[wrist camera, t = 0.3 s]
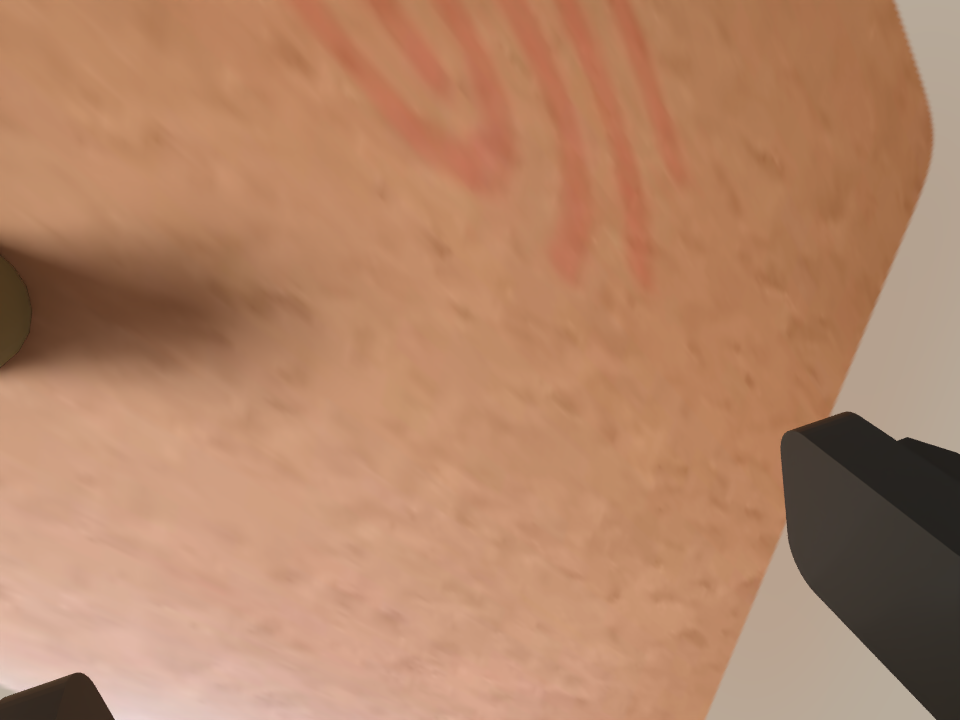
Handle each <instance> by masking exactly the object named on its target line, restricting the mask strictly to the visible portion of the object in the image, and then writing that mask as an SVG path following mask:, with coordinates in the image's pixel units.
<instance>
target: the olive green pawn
mask: <svg viewBox="0 0 960 720" xmlns="http://www.w3.org/2000/svg"><path fill="white" fill-rule="evenodd" d="M31 314H32V309H31V304H30V300H29V296H28V292H27V288H26V286H25V284H24V283H23V281H22V280H21V278H20V276H19V275H18V273H17V272H16V270H15V268H14V267H13V266H12V265H11V264H10V263H9V262H8V261H7V260H5V259H4V258H3V257H2V256H1V255H0V367H1V366H2V365H4V364H5V363H6V362H7V361H8V360H9V359H11V358H12V357H13V356H14V355H15V354H16V353H18V352H19V350H20V348H21V346H22V344H23V343H24V341H25V339H26V337H27V335H28V334H29V330H30V322H31Z"/></svg>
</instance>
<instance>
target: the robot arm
mask: <svg viewBox="0 0 960 720" xmlns="http://www.w3.org/2000/svg"><path fill="white" fill-rule="evenodd" d="M781 461H782V473H783V485H784V497H785V508H786V520H787V532H788V540H789V545H790V549H791V552H792V555H793V558H794V560H795V563H796V565H797V567H798V569H799V571H800V573H801V575H802V576H803V578H804V580H805V581H806V583H807V584H808V585H809V587H810V588H811V589H812V590H813V591H814V592H815V594H816V595H817V596H818V597H819V598H821V600H822V601H823V602H824V603H825V604H826V605H827V606H828V607H829V608H830V609H831V610H832V611H833V612H834V613H835V614H836V615H837V616H838V618H840V619H841V621H842V622H843V623H844V624H845V625H846V626H847V627H848V628H849V629H850V630H851V631H852V632H853V633H854V634H855V635H856V636H857V637H858V638H859V639H860V640H861V642H863V644H864V645H865V646H866V647H867V648H868V649H869V650H870V651H871V652H872V653H873V654H874V655H875V656H876V657H877V658H878V659H879V660H880V661H881V662H882V663H883V664H884V665H885V666H886V668H888V670H889V671H890V672H891V673H892V674H893V675H894V676H895V677H896V678H897V679H898V680H899V681H900V682H901V683H902V684H903V685H904V686H905V687H906V688H907V689H908V690H909V692H910V693H911V694H912V695H913V696H914V697H915V698H916V699H917V700H918V701H919V702H920V703H921V704H922V705H923V706H924V707H925V708H926V709H927V710H928V711H929V712H930V713H931V714H932V716H933V717H934V718H935V719H936V720H960V454H958V453H956V452H953V451H950V450H946V449H943V448H940V447H937V446H934V445H930V444H927V443H924V442H921V441H918V440H914V439H911V438H908V437H907V438H904V439H901V440H899V441H896V440H894V439H893V438H892V437H890V436H889V435H887V434H886V433H884V432H883V431H881V430H880V429H878V428H877V427H875V426H874V425H872V424H871V423H869V422H868V421H866V420H865V419H863V418H862V417H860V416H859V415H857V414H855V413H852V412H843V413H840V414H837V415H834V416H831V417H828V418H825V419H822V420H819V421H816V422H814V423H811V424H808V425H805V426H802V427H799V428H796V429H793V430H790V431H787V432H786V433H785V434H784V435H783V437H782V440H781ZM0 720H115V719H114V718H113V716H112V714H111V712H110V711H109V709H108V707H107V705H106V704H105V702H104V700H103V699H102V697H101V695H100V693H99V692H98V690H97V688H96V687H95V685H94V683H93V682H92V681H91V680H90V678H89V677H87V676H86V675H85V674H83V673H74V674H71V675H68V676H65V677H62V678H59V679H56V680H53V681H51V682H48V683H45V684H42V685H39V686H36V687H33V688H30V689H27V690H24V691H21V692H18V693H15V694H13V695H10V696H7V697H4V698H3V699H1V700H0Z"/></svg>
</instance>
